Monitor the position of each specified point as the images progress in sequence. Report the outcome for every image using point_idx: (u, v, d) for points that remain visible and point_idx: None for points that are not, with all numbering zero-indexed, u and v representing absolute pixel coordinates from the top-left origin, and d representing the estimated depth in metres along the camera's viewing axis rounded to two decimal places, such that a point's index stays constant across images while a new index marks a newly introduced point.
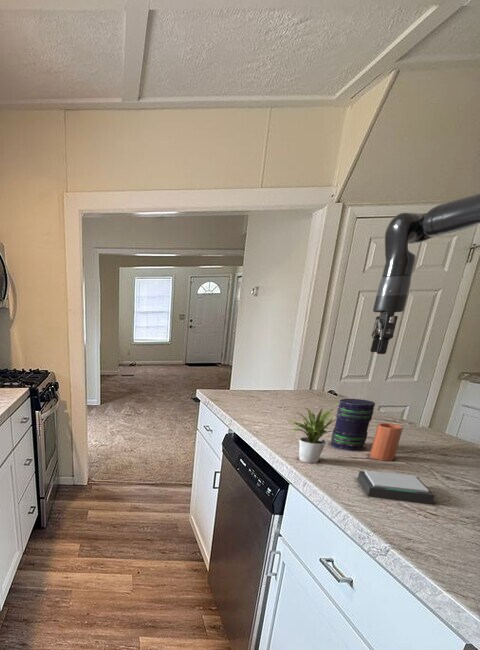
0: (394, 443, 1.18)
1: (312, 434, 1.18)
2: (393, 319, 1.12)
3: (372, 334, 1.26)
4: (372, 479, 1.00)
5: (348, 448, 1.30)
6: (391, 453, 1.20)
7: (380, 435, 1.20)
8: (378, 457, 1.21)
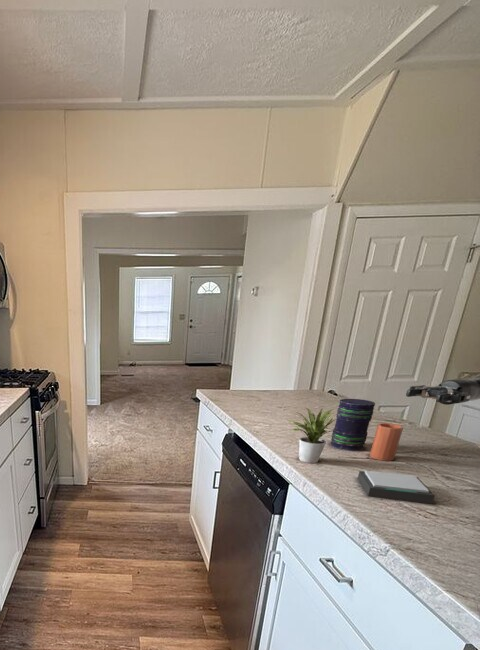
0: (394, 443, 1.18)
1: (312, 434, 1.18)
2: None
3: None
4: (372, 479, 1.00)
5: (348, 448, 1.30)
6: (391, 453, 1.20)
7: (380, 435, 1.20)
8: (378, 457, 1.21)
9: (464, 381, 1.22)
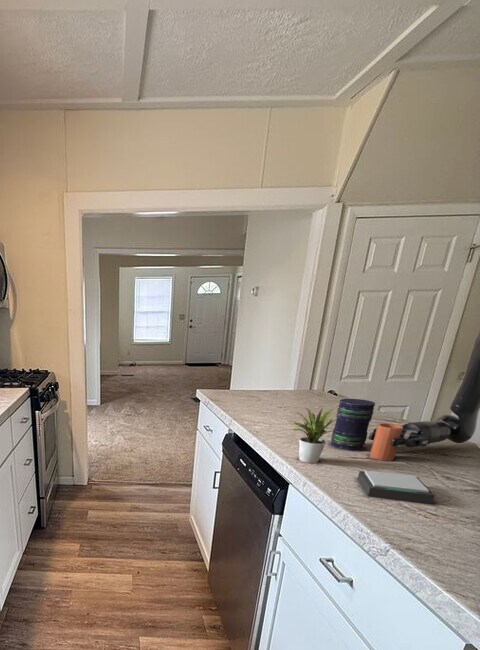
0: None
1: (312, 434, 1.18)
2: None
3: (410, 446, 1.18)
4: (372, 479, 1.00)
5: (348, 448, 1.30)
6: (391, 453, 1.20)
7: (380, 435, 1.20)
8: (378, 457, 1.21)
9: (425, 425, 1.23)
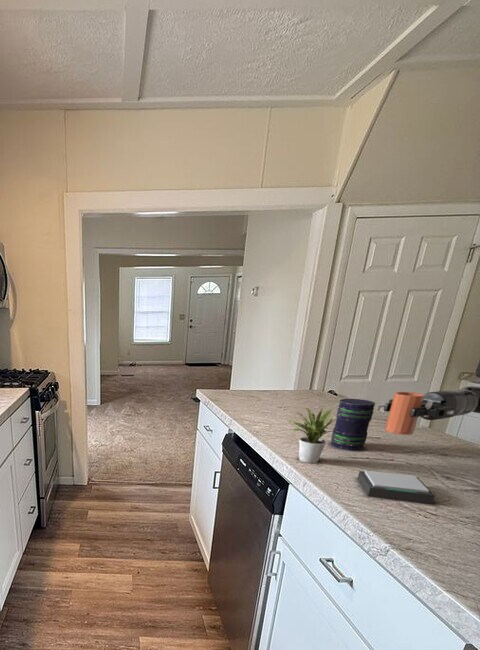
0: None
1: (312, 434, 1.18)
2: None
3: (433, 417, 1.01)
4: (372, 479, 1.00)
5: (348, 448, 1.30)
6: (410, 425, 1.03)
7: (397, 405, 1.03)
8: (395, 431, 1.05)
9: (449, 393, 1.06)
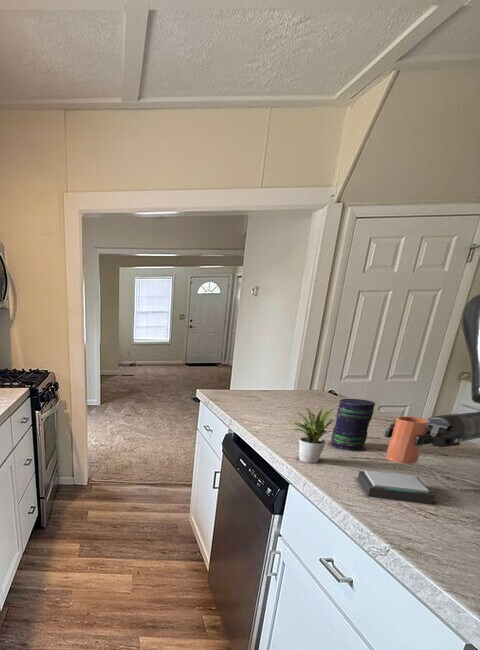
0: None
1: (312, 434, 1.18)
2: None
3: None
4: (372, 479, 1.00)
5: (348, 448, 1.30)
6: (413, 454, 0.94)
7: (400, 431, 0.94)
8: (397, 459, 0.96)
9: (456, 418, 0.97)
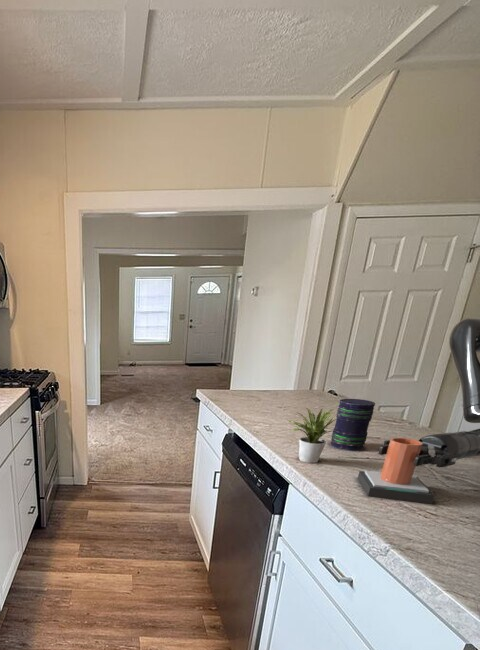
0: (411, 463, 0.95)
1: (312, 434, 1.18)
2: None
3: None
4: (372, 479, 1.00)
5: (348, 448, 1.30)
6: (407, 475, 0.96)
7: (394, 453, 0.96)
8: (391, 480, 0.97)
9: (450, 437, 0.98)
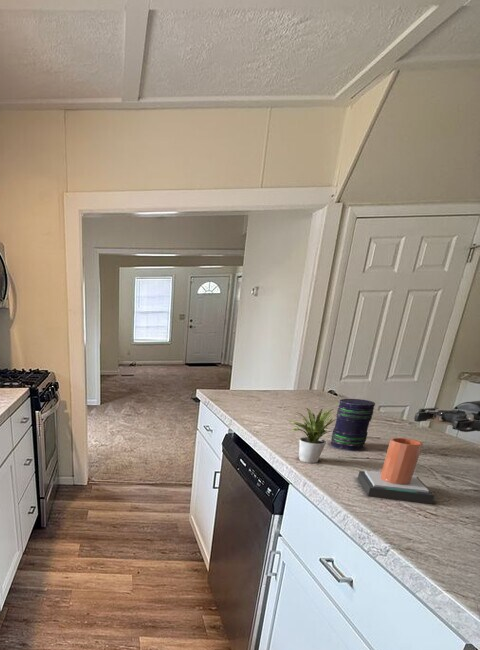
0: (411, 463, 0.95)
1: (312, 434, 1.18)
2: None
3: None
4: (372, 479, 1.00)
5: (348, 448, 1.30)
6: (407, 475, 0.96)
7: (394, 453, 0.96)
8: (391, 480, 0.97)
9: None
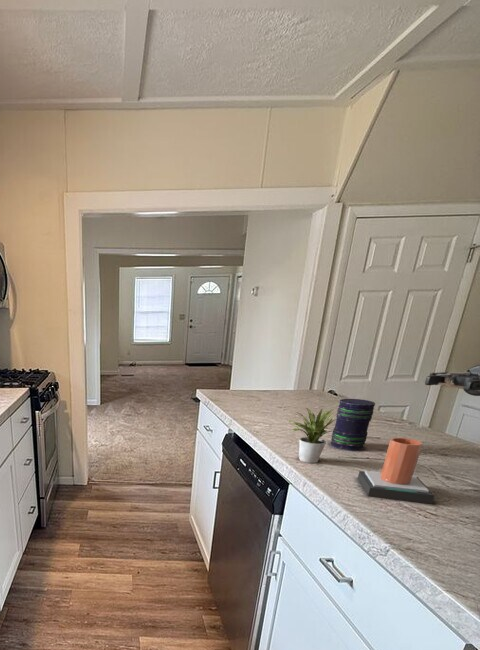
0: (411, 463, 0.95)
1: (312, 434, 1.18)
2: None
3: None
4: (372, 479, 1.00)
5: (348, 448, 1.30)
6: (407, 475, 0.96)
7: (394, 453, 0.96)
8: (391, 480, 0.97)
9: None
